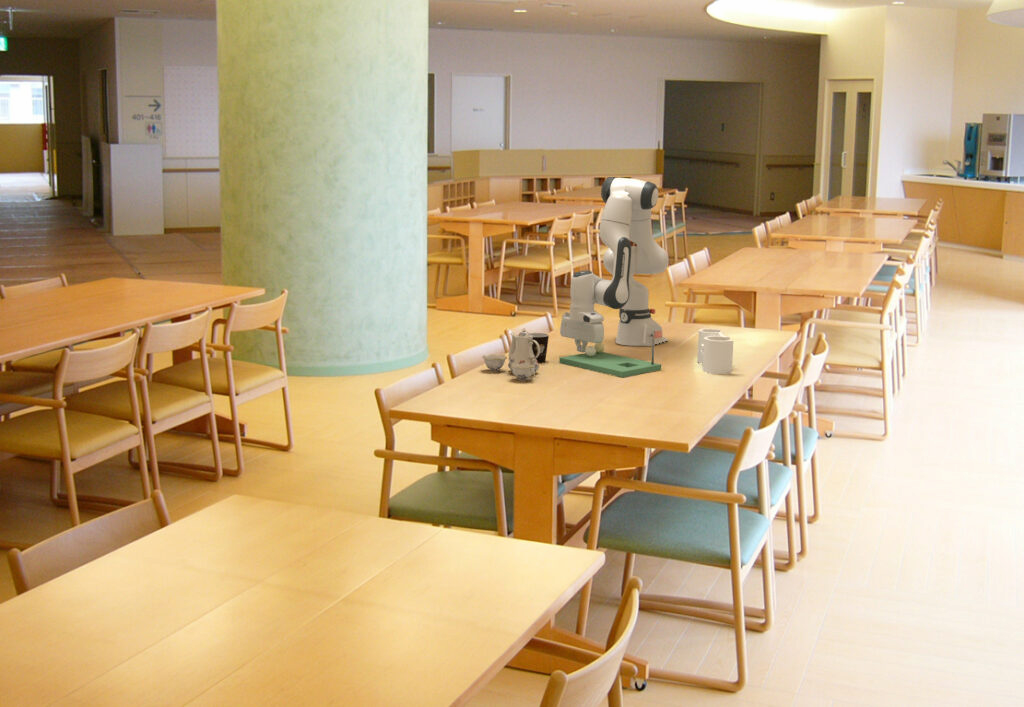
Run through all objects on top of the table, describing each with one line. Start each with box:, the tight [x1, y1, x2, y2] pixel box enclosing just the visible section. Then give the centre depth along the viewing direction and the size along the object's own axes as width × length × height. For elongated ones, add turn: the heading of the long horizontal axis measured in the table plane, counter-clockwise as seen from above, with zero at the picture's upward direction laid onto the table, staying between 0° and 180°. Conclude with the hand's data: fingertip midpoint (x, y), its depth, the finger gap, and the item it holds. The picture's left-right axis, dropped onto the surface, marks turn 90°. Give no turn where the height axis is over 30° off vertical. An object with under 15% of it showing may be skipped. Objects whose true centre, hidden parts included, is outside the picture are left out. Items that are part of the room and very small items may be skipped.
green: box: [558, 351, 662, 378], centre depth 402 cm, size 20×32×2 cm, turn 41°
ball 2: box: [593, 342, 605, 353], centre depth 416 cm, size 4×4×4 cm
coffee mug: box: [528, 332, 550, 364], centre depth 409 cm, size 12×9×10 cm
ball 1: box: [584, 345, 596, 357], centre depth 409 cm, size 4×4×4 cm
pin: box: [650, 330, 663, 365], centre depth 396 cm, size 5×1×12 cm, turn 130°
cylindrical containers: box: [697, 328, 734, 375], centre depth 401 cm, size 25×10×12 cm, turn 0°
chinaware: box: [482, 327, 540, 382], centre depth 387 cm, size 28×17×17 cm, turn 40°
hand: (581, 351), depth 413 cm, fingers closed
